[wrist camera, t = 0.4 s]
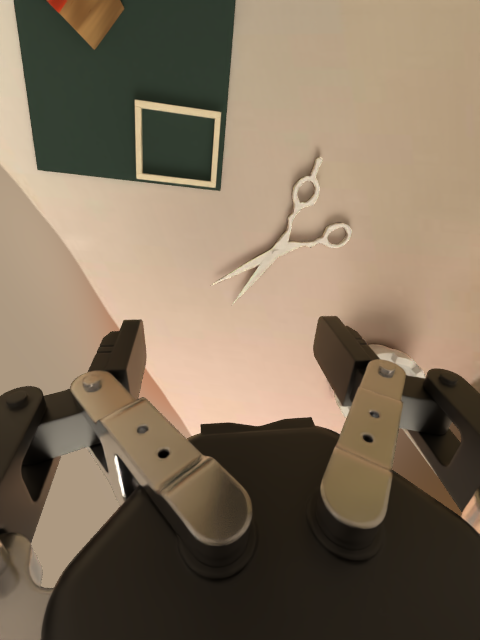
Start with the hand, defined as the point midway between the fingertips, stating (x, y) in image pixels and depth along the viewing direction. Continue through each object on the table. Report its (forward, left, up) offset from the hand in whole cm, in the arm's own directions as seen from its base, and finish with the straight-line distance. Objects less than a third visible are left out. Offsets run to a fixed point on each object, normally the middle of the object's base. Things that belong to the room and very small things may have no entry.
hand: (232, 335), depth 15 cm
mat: (-15, -10, -28) cm, 34 cm away
